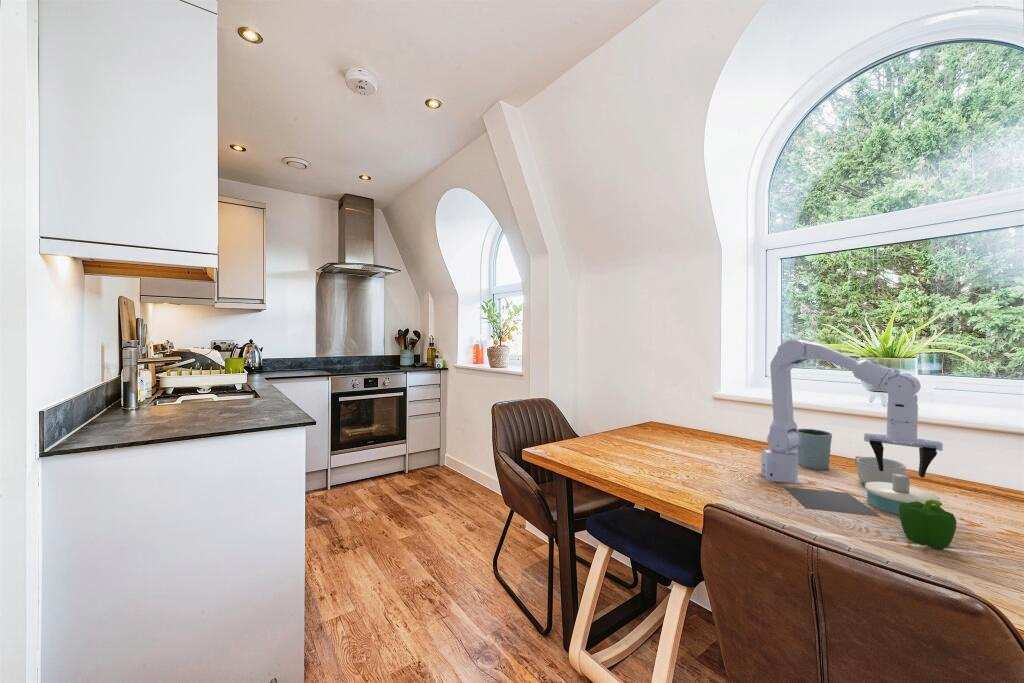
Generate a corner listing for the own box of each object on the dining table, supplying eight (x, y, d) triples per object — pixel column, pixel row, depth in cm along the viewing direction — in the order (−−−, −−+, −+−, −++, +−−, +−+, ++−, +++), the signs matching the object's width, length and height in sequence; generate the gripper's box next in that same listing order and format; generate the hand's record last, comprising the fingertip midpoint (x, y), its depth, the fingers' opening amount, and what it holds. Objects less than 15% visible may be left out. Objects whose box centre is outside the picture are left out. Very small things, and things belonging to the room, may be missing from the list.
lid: (883, 501, 100) (883, 481, 100) (854, 482, 114) (854, 465, 114) (955, 508, 96) (955, 488, 96) (916, 488, 110) (916, 470, 110)
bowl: (886, 516, 101) (886, 500, 101) (860, 498, 112) (860, 483, 112) (947, 522, 98) (947, 506, 98) (913, 503, 109) (913, 488, 109)
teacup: (915, 496, 114) (915, 468, 114) (870, 493, 116) (871, 465, 116) (881, 479, 128) (881, 454, 128) (842, 477, 130) (842, 452, 130)
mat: (805, 510, 104) (805, 508, 104) (783, 488, 119) (783, 486, 119) (881, 518, 100) (881, 516, 100) (847, 494, 115) (847, 492, 115)
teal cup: (829, 464, 143) (830, 430, 143) (833, 472, 134) (834, 436, 134) (794, 460, 148) (795, 427, 148) (796, 467, 140) (796, 432, 140)
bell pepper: (890, 531, 93) (891, 488, 93) (935, 537, 90) (936, 492, 90) (914, 550, 85) (915, 502, 85) (965, 556, 82) (966, 507, 82)
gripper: (866, 419, 106) (865, 471, 106) (946, 427, 97) (945, 483, 98) (863, 415, 112) (862, 464, 112) (938, 422, 103) (937, 476, 103)
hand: (900, 473), depth 105 cm, fingers open, 7 cm apart
